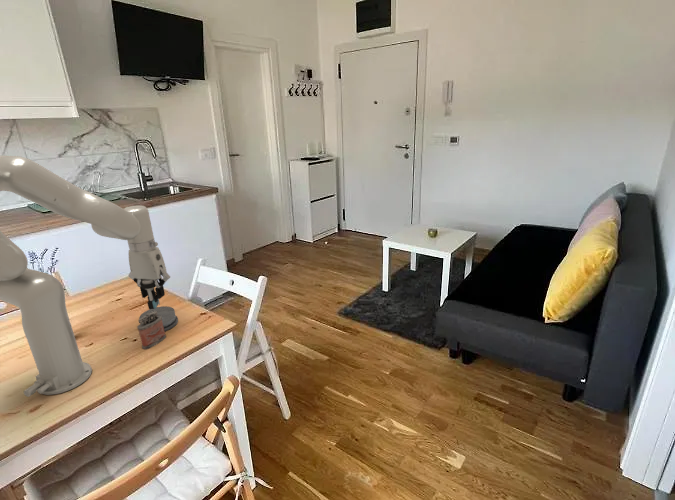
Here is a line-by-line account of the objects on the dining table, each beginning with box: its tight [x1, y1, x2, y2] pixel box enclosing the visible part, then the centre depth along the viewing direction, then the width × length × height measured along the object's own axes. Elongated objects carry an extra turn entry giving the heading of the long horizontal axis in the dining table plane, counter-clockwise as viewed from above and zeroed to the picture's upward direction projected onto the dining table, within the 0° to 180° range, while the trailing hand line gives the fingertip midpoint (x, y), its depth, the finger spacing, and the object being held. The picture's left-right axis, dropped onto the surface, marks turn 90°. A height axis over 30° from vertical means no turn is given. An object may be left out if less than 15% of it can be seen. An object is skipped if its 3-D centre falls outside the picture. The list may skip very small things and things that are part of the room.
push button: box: [140, 279, 161, 310], centre depth 127 cm, size 7×5×10 cm
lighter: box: [136, 311, 167, 350], centre depth 119 cm, size 8×3×10 cm, turn 154°
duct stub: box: [138, 305, 179, 332], centre depth 130 cm, size 12×12×4 cm
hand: (153, 296), depth 127 cm, fingers closed on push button, 4 cm apart
